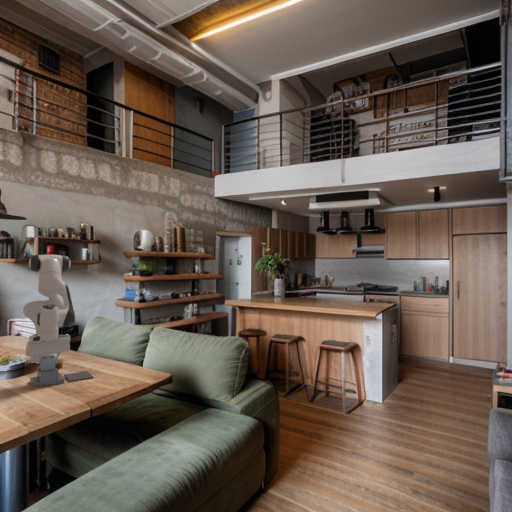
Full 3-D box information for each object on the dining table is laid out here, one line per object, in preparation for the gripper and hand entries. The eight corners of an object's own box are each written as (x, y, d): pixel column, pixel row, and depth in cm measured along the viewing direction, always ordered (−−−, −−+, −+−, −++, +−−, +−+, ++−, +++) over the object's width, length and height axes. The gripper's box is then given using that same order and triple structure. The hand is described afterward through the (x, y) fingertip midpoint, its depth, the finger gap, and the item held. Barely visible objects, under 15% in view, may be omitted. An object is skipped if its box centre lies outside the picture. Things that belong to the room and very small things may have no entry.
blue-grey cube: (40, 368, 186) (40, 356, 186) (53, 366, 189) (53, 355, 190) (41, 371, 181) (42, 359, 181) (55, 369, 185) (55, 357, 185)
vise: (30, 381, 186) (31, 355, 186) (60, 376, 194) (60, 352, 195) (32, 388, 175) (33, 360, 176) (64, 382, 184) (65, 356, 185)
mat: (63, 375, 196) (64, 374, 196) (87, 372, 203) (87, 370, 203) (68, 382, 185) (68, 380, 185) (93, 378, 192) (93, 376, 192)
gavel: (62, 371, 196) (41, 373, 191) (61, 379, 196) (40, 381, 191) (62, 359, 214) (43, 361, 209) (62, 367, 214) (43, 369, 209)
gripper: (69, 332, 195) (68, 358, 194) (25, 336, 182) (24, 363, 182) (71, 334, 190) (70, 360, 189) (26, 338, 177) (25, 366, 177)
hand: (47, 362), depth 185 cm, fingers closed on blue-grey cube, 6 cm apart
